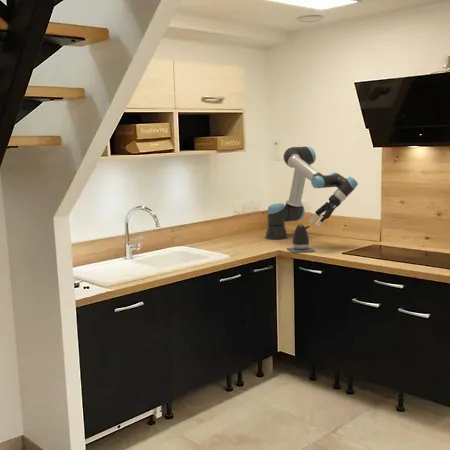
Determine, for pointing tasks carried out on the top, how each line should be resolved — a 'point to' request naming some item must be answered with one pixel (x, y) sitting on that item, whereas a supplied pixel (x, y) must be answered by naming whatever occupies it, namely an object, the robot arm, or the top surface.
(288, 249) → the charcoal mat
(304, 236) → the pump dispenser
